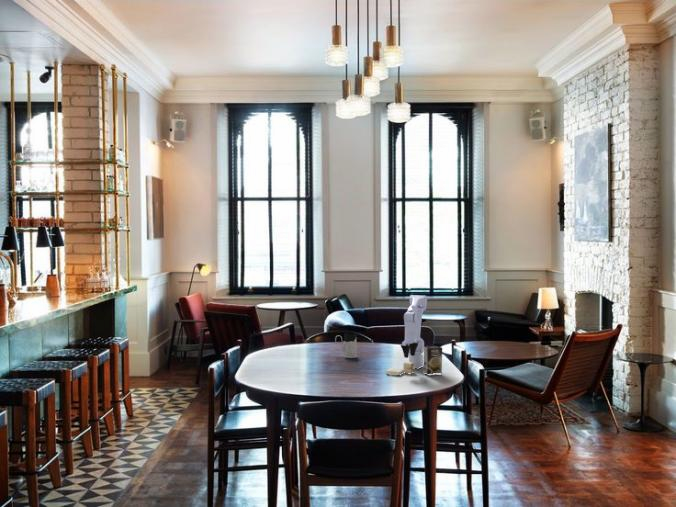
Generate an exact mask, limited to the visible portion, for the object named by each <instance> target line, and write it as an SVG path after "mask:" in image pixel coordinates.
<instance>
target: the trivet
mask: <svg viewBox="0 0 676 507" xmlns="http://www.w3.org/2000/svg"><path fill="white" fill-rule="evenodd" d="M402 373H404V369H403V368H399V367H398V368H396V367H390V368H388V369H386V370H385V375H386V374H389V375H388V376H392V375H400V374H402ZM400 376H401V375H400Z"/></svg>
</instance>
